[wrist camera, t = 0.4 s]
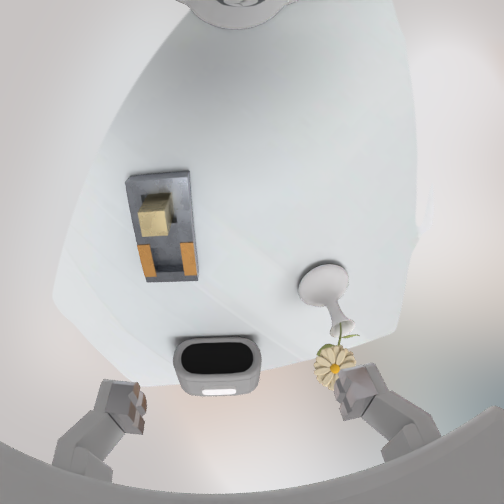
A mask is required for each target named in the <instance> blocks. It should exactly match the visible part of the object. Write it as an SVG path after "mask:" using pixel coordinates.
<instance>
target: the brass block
mask: <svg viewBox="0 0 504 504" xmlns="http://www.w3.org/2000/svg"><path fill="white" fill-rule="evenodd" d="M173 217H174V207H173V198H172V192H169V193H155V194H148V195H147V197H146V198H145V200H144V202H143V204H142V206H141V207H140V209H139V211H138V218H139V223H140V228H141V233H142V237H149V236H167V235H168V234H169V230H170V227H171V223H172V220H173Z"/></svg>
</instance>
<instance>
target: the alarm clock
mask: <svg viewBox="0 0 504 504" xmlns="http://www.w3.org/2000/svg"><path fill="white" fill-rule="evenodd" d="M261 362H262V361H261V353H260V350H259V348H258V346H257V345H256V344H255V343H254V342H253V341H251V340H249V339H247V338H240V336H238V337H212V338H193V339H191V340H186V341H184V342H182V343H181V344H180V345H179V346H178V347H177V348H176V350H175V352H174V357H173V365H174V368H175V371H176V374H177V376H178V379H179V382H180V385H181V387H182V389H183V390H184V391H185V392H187V393H188V394H190V395H195V396H231V395H241V394H247V393H250V392H251V391H253V390H254V389H255V388H256V387H257V385H258V382H259V376H260V369H261Z"/></svg>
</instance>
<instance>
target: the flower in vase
mask: <svg viewBox="0 0 504 504" xmlns="http://www.w3.org/2000/svg"><path fill="white" fill-rule="evenodd" d="M348 284H349V277H348V273H347V272H346V270H345V269H344V268H342V267H340V266H338V265H333V264H326V265H321V266H318V267H316V268H314V269H312V270H311V271H309V272H308V273H307V274H306V275H305V276H304V277H303V279H302V280H301V282H300V285H299V288H298V293H299V297H300V298H301V299H302V301H304V302H305V303H306V304H308V305H310V306H315V307H324V306H326V307H327V308H328V310H329V312H330V315H331V319H332V328H331V330H330V335H331V336H332V337H336V338H338V337H339V341H338V346H337V345H336V346H334V345H332V344H325V345H324V346H323V347H322V348H321V349H320V350H319V351H318V353H317V355H318V357H316V362H315V363H314V367H315V369H316V370H315V371H314V374H315V375H317V380H318V381H319V383H322V385H323V386H325V387H327V386H328V389H329V390H332V391H334V384H335V381H336V380H337V379H338V378H339V376H338V373H339V371H340V370H341V369H345V368H350V367H354V366H355V364H356V360H354V356H353V352H349V351H348V349H346V348H345V349H343V346H342V345H340V341H341V338H350V337H353V336H356V335H348V336H345V335H347V334H349V333H350V332H351V331H352V330H353V329H354V328H355V322H354V321H353V320H350V319H348V318H347V317H346V316H345V315H344V314H343V312H342V311H341V309H340V307H339V305H338V300H339V299H340V298H341V297H342V296H343V295H344V293H345V291H346V290H347V287H348ZM343 336H344V337H343ZM357 336H359V335H357Z"/></svg>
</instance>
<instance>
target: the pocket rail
mask: <svg viewBox="0 0 504 504" xmlns="http://www.w3.org/2000/svg"><path fill="white" fill-rule="evenodd" d="M125 185H126V191H127V197H128V202H129V208H130V213H131V218H132V223H133V228H134V232H135V237H136V241H137V247H138V251H139V256H140V260H141V264H142V267H143V271H144V275H145V277H146V281H147V282H177V281H198V273H199V269H198V261H197V252H196V243H195V233H194V222H193V211H192V199H191V186H190V172H189V171H182V172H169V173H157V174H146V175H136V176H130V177H129V178H128V180H127V181H126V182H125ZM169 192H172V198H173V207H174V217H173V220H172V223H171V227H170V230H169V234H168V235H167V236H149V237H142V233H141V228H140V223H139V218H138V211H139V209H140V207H141V206H142V204H143V202H144V200H145V198H146V197H147V195H148V194H155V193H169Z"/></svg>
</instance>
